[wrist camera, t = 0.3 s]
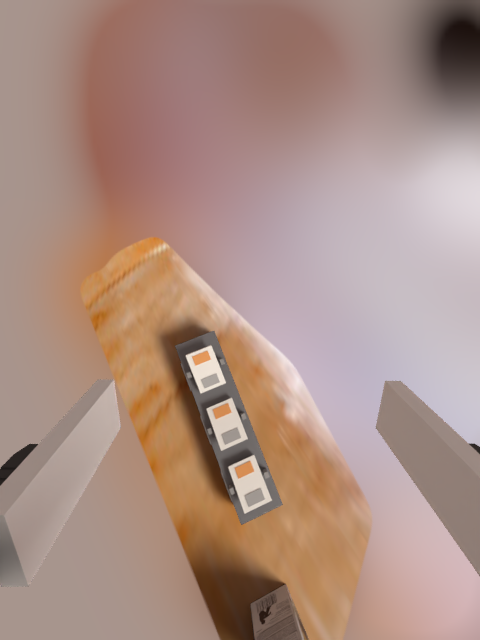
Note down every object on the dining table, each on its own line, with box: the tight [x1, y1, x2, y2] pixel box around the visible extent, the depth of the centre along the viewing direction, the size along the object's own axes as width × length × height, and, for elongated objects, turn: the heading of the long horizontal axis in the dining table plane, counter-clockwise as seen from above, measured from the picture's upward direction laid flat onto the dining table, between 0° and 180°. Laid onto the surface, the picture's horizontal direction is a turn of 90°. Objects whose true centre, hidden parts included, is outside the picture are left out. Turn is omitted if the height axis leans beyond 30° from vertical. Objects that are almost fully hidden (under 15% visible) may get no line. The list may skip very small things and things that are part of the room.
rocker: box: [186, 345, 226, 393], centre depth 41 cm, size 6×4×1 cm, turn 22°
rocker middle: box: [207, 398, 248, 451], centre depth 40 cm, size 6×4×1 cm, turn 22°
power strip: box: [175, 331, 283, 525], centre depth 43 cm, size 27×7×6 cm, turn 22°
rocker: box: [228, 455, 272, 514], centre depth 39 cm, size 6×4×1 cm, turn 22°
